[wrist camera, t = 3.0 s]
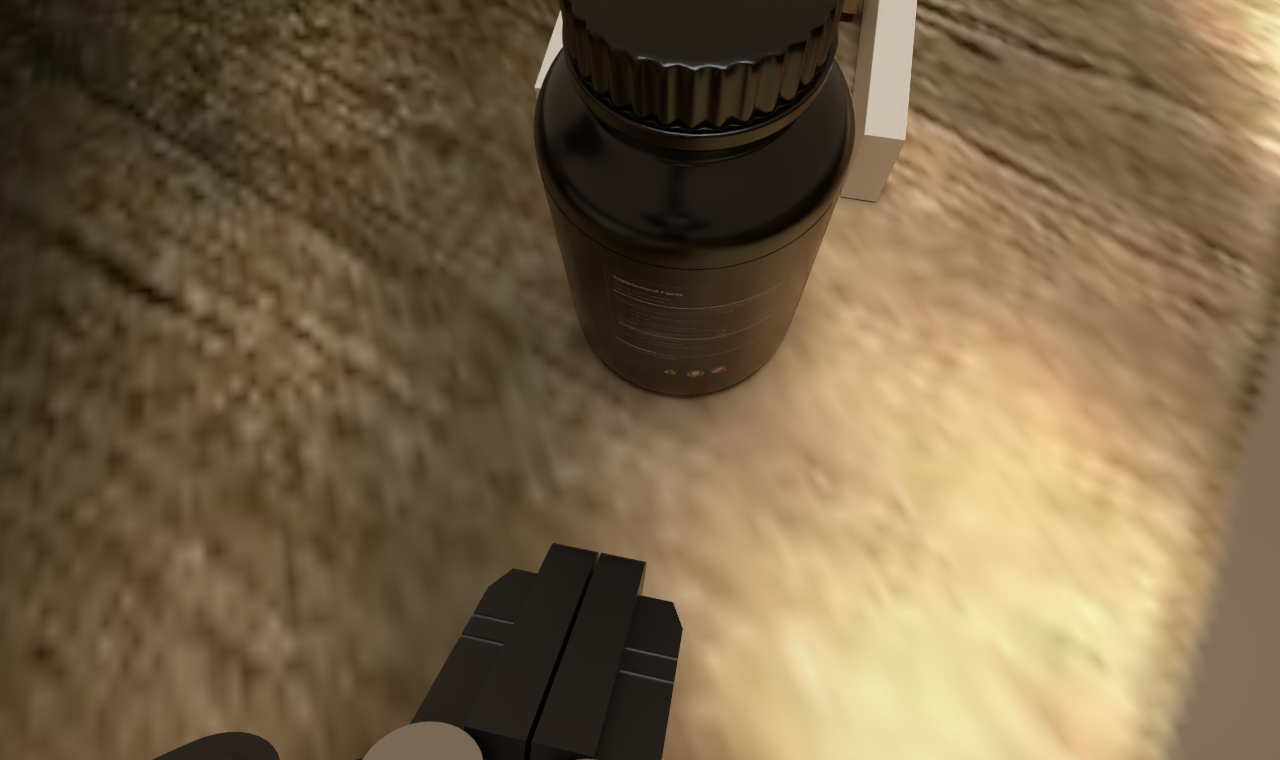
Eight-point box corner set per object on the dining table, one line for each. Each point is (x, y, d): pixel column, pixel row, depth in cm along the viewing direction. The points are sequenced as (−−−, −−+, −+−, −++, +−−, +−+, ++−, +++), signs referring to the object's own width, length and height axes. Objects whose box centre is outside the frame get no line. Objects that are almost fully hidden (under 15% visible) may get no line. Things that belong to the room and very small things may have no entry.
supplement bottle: (572, 220, 24) (496, -170, 13) (774, 206, 24) (875, -197, 13) (579, 412, 21) (492, 132, 10) (806, 396, 21) (967, 98, 10)
